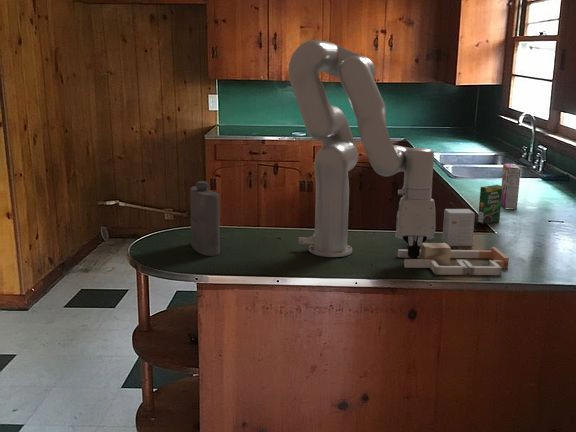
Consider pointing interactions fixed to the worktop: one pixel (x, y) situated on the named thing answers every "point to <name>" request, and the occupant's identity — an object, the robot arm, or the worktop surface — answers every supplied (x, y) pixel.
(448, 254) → the beech block
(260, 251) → the worktop surface
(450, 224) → the small box
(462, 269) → the channel
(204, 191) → the flask
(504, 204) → the candy bar box
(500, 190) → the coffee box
